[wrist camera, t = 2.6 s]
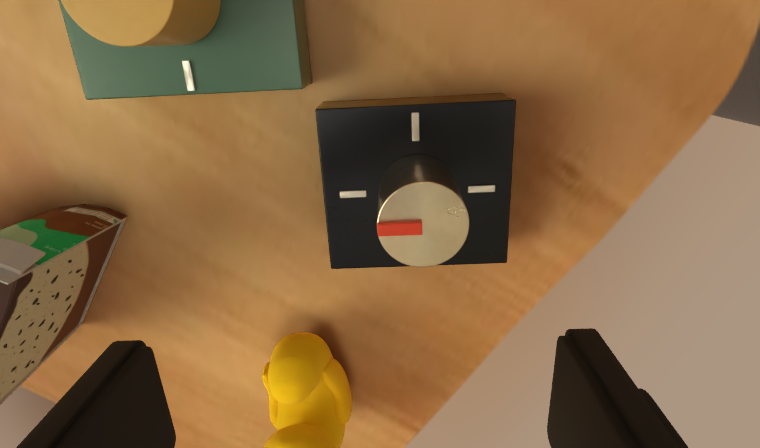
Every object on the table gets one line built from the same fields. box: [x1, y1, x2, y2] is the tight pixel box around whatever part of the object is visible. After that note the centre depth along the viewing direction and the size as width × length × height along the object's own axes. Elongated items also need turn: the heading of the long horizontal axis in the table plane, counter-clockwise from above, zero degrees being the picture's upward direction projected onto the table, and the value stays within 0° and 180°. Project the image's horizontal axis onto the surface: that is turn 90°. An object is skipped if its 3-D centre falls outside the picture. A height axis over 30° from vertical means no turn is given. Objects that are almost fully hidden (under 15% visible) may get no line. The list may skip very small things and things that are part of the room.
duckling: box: [262, 332, 352, 448], centre depth 28 cm, size 11×5×10 cm, turn 5°
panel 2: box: [315, 93, 516, 269], centre depth 26 cm, size 10×9×3 cm
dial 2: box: [377, 154, 469, 267], centre depth 22 cm, size 4×4×5 cm
